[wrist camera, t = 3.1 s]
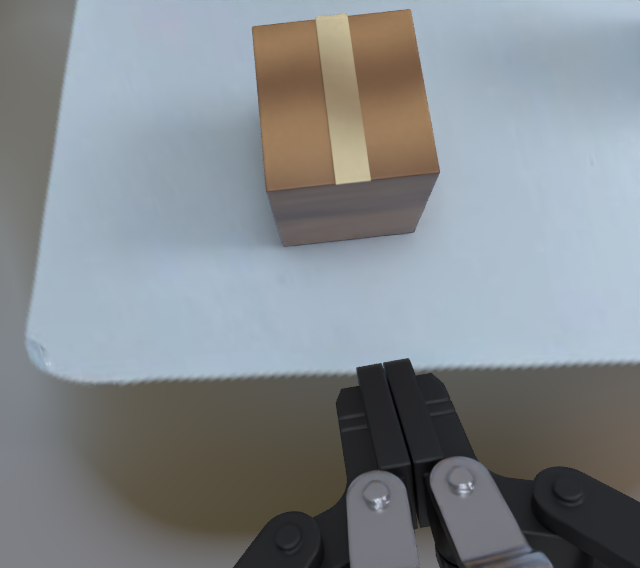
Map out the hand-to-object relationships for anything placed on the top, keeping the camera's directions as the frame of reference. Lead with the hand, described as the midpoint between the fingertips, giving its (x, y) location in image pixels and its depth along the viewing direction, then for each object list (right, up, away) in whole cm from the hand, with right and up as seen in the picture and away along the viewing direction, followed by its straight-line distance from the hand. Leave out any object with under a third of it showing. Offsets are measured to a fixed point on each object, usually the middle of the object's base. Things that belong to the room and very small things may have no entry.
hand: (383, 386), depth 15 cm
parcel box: (-1, +10, +18) cm, 20 cm away
